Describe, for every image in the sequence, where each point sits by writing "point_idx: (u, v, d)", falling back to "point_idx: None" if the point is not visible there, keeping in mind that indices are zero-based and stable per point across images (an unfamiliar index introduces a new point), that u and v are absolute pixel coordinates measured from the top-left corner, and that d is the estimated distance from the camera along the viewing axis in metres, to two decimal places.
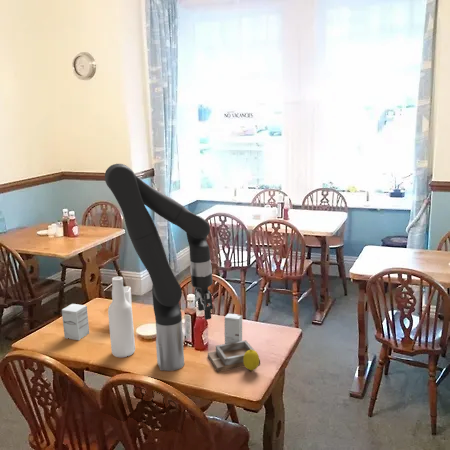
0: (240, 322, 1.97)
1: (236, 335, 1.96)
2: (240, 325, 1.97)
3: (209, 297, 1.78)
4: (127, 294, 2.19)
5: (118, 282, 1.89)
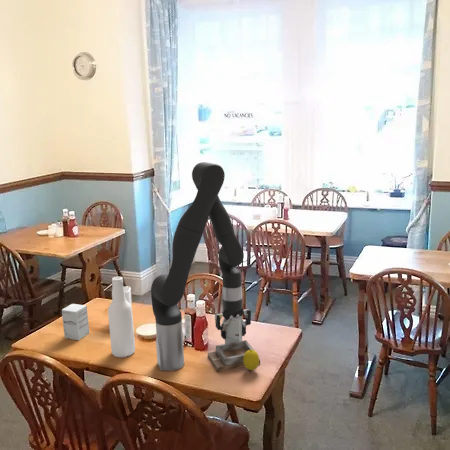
0: (240, 322, 1.97)
1: (236, 335, 1.96)
2: (240, 325, 1.97)
3: None
4: (127, 294, 2.19)
5: (118, 282, 1.89)
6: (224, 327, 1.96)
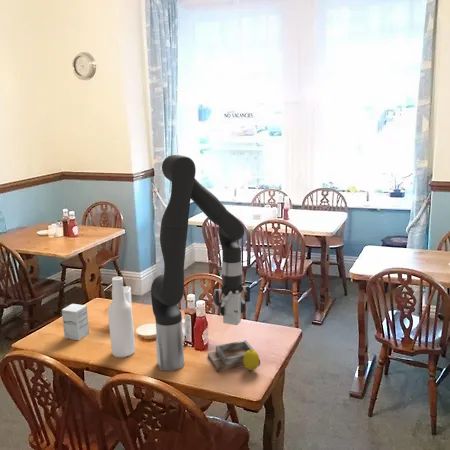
0: (239, 298, 1.94)
1: (235, 311, 1.94)
2: (239, 301, 1.95)
3: None
4: (127, 294, 2.19)
5: (118, 282, 1.89)
6: (223, 303, 1.93)
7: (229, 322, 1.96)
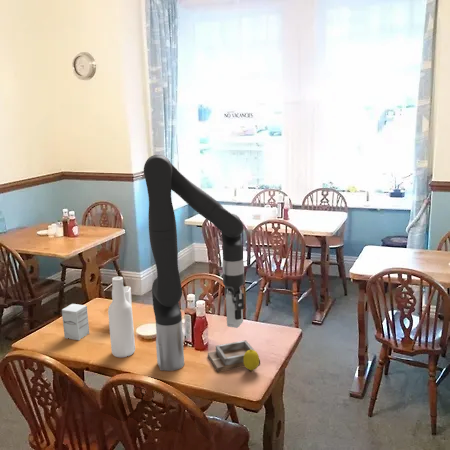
0: None
1: None
2: None
3: None
4: (127, 294, 2.19)
5: (118, 282, 1.89)
6: None
7: (240, 323, 1.85)
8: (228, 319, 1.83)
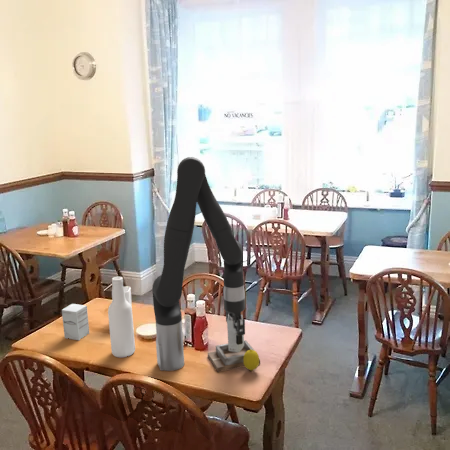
0: None
1: None
2: None
3: None
4: (127, 294, 2.19)
5: (118, 282, 1.89)
6: None
7: (241, 347, 1.87)
8: (229, 344, 1.85)
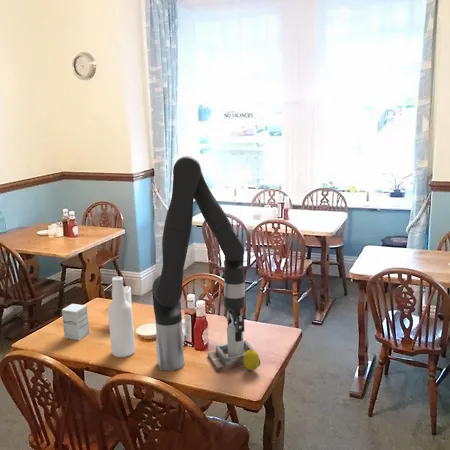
0: None
1: (242, 339, 1.89)
2: None
3: None
4: (127, 294, 2.19)
5: (118, 282, 1.89)
6: None
7: (241, 354, 1.88)
8: (229, 351, 1.86)
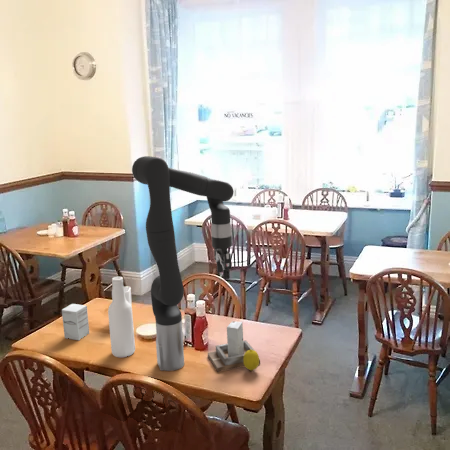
0: None
1: (242, 339, 1.89)
2: None
3: None
4: (127, 294, 2.19)
5: (118, 282, 1.89)
6: None
7: (241, 354, 1.88)
8: (229, 351, 1.86)
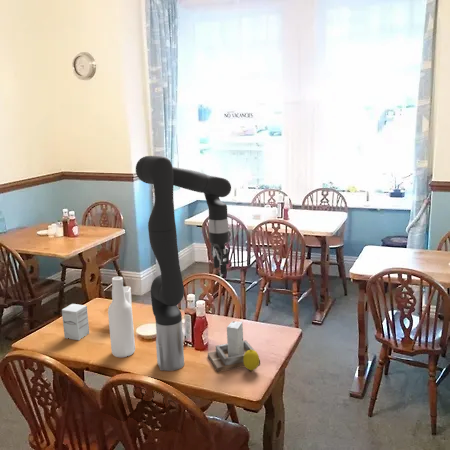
0: None
1: (242, 339, 1.89)
2: None
3: None
4: (127, 294, 2.19)
5: (118, 282, 1.89)
6: None
7: (241, 354, 1.88)
8: (229, 351, 1.86)
